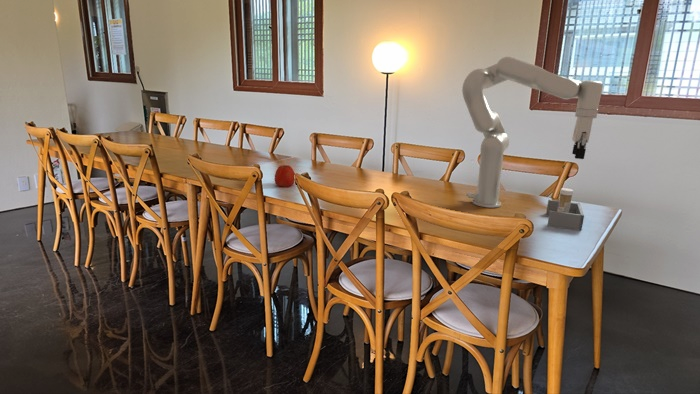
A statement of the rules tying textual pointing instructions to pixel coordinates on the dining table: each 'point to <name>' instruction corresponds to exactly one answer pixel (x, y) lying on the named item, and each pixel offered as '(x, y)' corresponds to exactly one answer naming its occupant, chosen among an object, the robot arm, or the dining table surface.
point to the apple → (284, 176)
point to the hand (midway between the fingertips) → (577, 156)
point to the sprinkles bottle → (565, 200)
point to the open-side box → (565, 216)
